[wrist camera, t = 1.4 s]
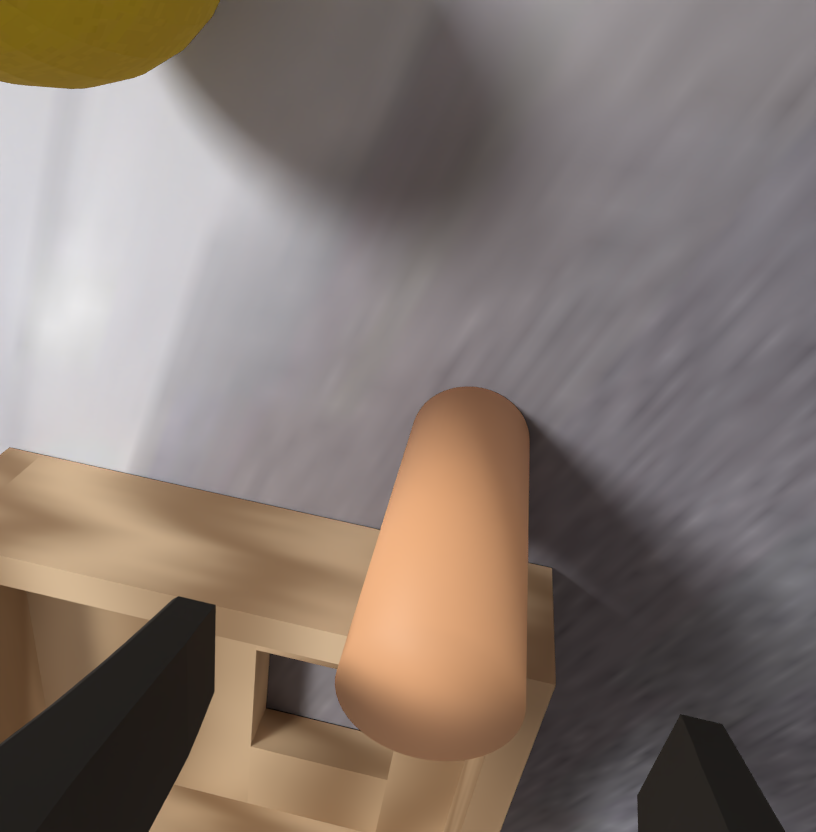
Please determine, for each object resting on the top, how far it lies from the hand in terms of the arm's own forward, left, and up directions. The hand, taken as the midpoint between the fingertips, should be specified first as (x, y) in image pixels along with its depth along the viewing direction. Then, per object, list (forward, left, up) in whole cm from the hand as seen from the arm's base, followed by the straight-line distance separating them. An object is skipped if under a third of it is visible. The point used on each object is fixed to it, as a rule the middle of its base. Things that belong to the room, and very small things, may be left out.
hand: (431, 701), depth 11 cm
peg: (0, 0, -8) cm, 8 cm away
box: (-5, -10, -8) cm, 14 cm away
